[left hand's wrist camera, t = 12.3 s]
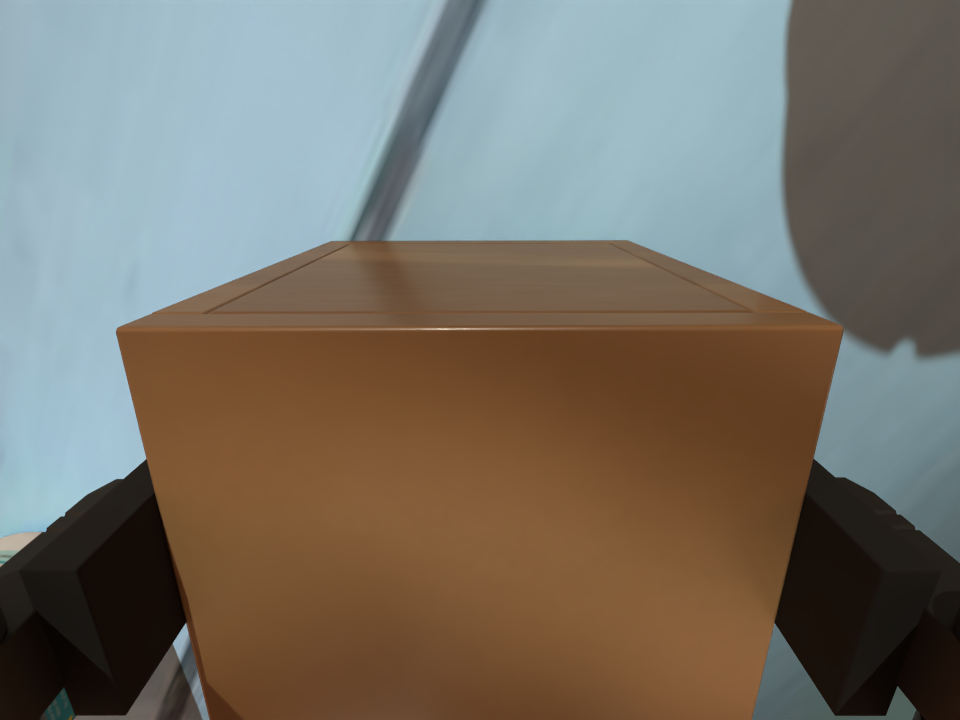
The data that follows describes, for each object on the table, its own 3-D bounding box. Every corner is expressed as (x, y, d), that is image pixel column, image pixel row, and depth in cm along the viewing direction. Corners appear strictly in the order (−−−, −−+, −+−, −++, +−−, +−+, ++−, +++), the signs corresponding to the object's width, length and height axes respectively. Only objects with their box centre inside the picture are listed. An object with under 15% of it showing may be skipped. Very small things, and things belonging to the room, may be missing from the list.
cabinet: (594, 622, 24) (689, 988, 13) (366, 623, 24) (273, 989, 13) (629, 240, 18) (848, 325, 7) (330, 240, 18) (111, 327, 7)
